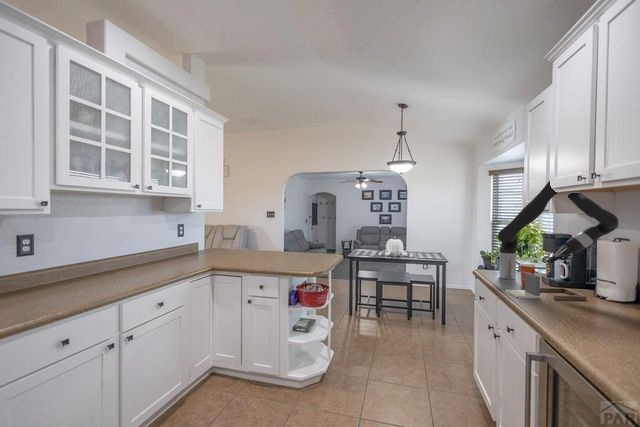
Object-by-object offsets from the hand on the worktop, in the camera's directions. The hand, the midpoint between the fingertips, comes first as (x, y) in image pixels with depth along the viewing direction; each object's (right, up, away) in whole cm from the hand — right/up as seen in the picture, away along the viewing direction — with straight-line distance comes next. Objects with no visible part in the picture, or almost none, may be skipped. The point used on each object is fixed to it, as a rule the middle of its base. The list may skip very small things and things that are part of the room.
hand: (549, 261), depth 171 cm
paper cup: (-4, -17, +12) cm, 21 cm away
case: (0, -17, -6) cm, 18 cm away
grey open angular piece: (-18, -18, -5) cm, 26 cm away
